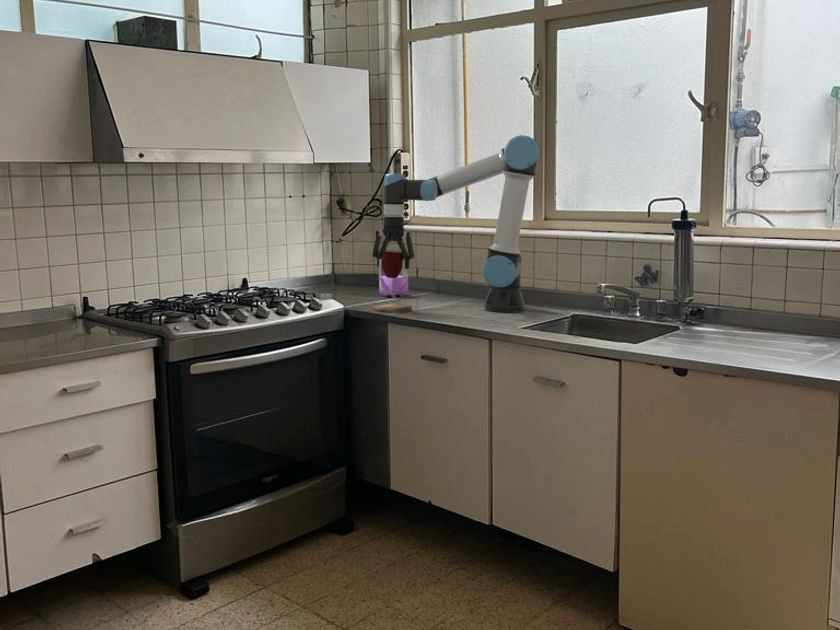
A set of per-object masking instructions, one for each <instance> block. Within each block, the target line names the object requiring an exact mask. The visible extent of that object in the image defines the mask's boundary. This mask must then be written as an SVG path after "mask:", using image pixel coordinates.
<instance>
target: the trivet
mask: <svg viewBox="0 0 840 630" xmlns="http://www.w3.org/2000/svg"><path fill="white" fill-rule="evenodd" d="M373 309H374V311H375V312H381V313H388V314H389V313H390V314H391V313H397V314H398V313H406V312H410V311H412V306H411V305H409V304H403V303H386V304H385V303H382V304H376V305H374V308H373Z"/></svg>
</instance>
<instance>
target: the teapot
mask: <svg viewBox="0 0 840 630" xmlns="http://www.w3.org/2000/svg"><path fill="white" fill-rule="evenodd" d="M409 276H410V274H407V277H406V278H402V275H401V274H399V275H398V277H397V278H388V277H386V275H384V276H378V277H377V278H378V281H379V286H378V287H379V288H378V289H379V290H378V292H379V294H381V295H383V297H389V296H390V298H393V299H394V298H396V297H397V296H398V295H399V297H402V298H403V297H405V294H408V295H409Z"/></svg>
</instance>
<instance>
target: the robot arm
mask: <svg viewBox="0 0 840 630" xmlns="http://www.w3.org/2000/svg"><path fill="white" fill-rule="evenodd" d="M541 156H542V148H541V146H540V143H538V141H536V140H535V139H534V138H532V137H530V136H528V135H525V134H523V135H517V136H516V135H515V136H514V137H512V138H510V139H509V141H507V143H506V144H505V146H504V148H501V149H500V151H499V152H498V153H495V154H492V155H489V156H487V157H484V158H482V159H479V160H476V161H474V162H471V163H469V164H465V165H463V166H460V167H457V168H455V169H453V170H450V171H447V172H444V173H442V174H439V175H436V176H433V177H431V178H427V179H406V177H405V174H403V173H386V174H385V175H384V182H383V184H384V185H383V215H384V217H383V229H382V230H375V240H374V246H373V251H372V255H371V256H372V257H373V258H376V263H377V264H376V267H377V268H378V274H379V275H378V277H380V276H385V273H384V269H383V259H382V254H383V251H385V250H387V248H388V246H389V243H390V242H396V244H397V245H398V247H399V249H400V251H401V252H402V254H403V257H404V260H403V264H402V270H401V273H402V274H401V276H402V278H406V277H407V275H408V270H409V269H410V261H411V260H413V259H415V253H414V246H413V241H412V236H413V235H412V234H413V233H412V232H411V231H405V225H404V224H405V217H404V215H405V201H425V202H429V201H435V200H436V199H437V198H439V197H442V196H444V195H447V194H450V193H452V192H455V191H459V190H460V189H463V188H466V187H469V186H471V185H474V184H476V183H481V182H483V181H486V180H488V179H491V178H494V177H496V176H499V175H502V174H503V175H504V177H505V178H504V183H503V190H502V195H501V200H500V201H501V202H500V208H499V211H498V217H497V222H496V229H495V235H494V240H493V243H492V244H491V245H489V246H488V249H487V254H486V260H485V262H484V264H483V267H482V275H483V278H484V280H485V281H486V282H487V284H489V290H488V294H487V296H486V299H485V302H484V310H485V309H486V310H485V311H488V310H489V311H488V312H493V311H497V312H496V313H515V312H514V311H521V312H523V311H522V310H524V311H525V301H524V298H523V295H522V292H521V284H522V282H521V281H522V280H521V279H522V259H523V257H522V251H521V250H520V249H519V248H518V245H519V239H520V234H521V233H520V232H521V228H522V222H523V217H524V212H525V208H526V202H527V195H528V189H529V186H530V182H531V181H532V180H533V179H534V178H536V177H535V176H536V172H537V171H536V170H537V167H538V164H539V162H540V160H541ZM383 235H384V239H383V243H382V244H381V241H382V236H383ZM403 236H404V237H405V242H406V245H405V243H404V240H403V239H404V238H403Z"/></svg>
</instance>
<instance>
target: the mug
mask: <svg viewBox="0 0 840 630" xmlns="http://www.w3.org/2000/svg"><path fill="white" fill-rule="evenodd" d="M382 259H383V269H384V276H386V277H388V278H397V277H398V275H401V274H400V273H402V266H403V260H404V257H403V254H402V252H401V249H400V250H398V249H386V250H385V251H383V254H382Z"/></svg>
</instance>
